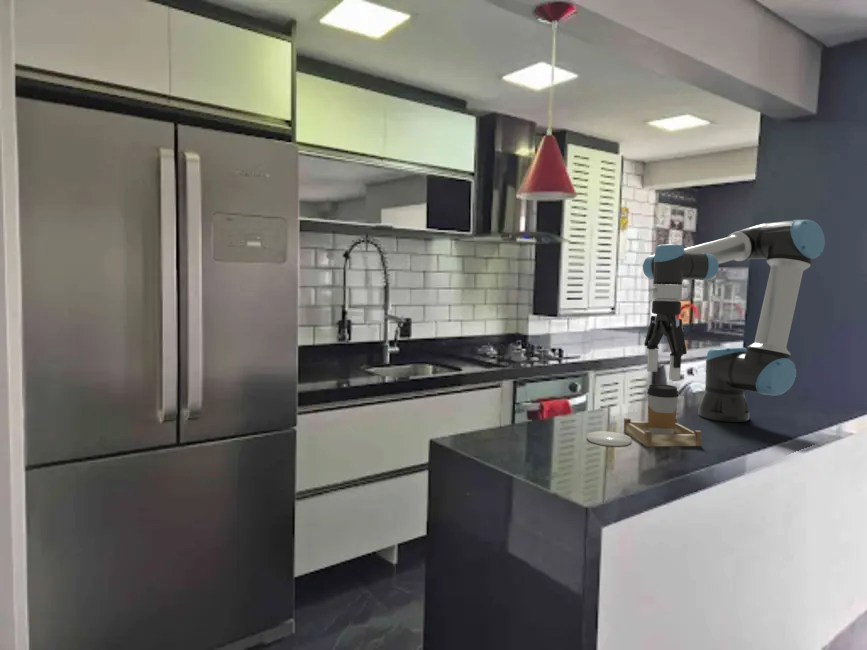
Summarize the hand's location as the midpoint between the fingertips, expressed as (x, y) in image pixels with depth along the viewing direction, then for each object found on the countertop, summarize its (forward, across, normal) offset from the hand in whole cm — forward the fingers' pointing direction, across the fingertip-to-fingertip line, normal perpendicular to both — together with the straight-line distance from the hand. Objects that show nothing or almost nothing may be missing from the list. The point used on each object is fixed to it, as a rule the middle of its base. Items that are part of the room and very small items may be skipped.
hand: (662, 375), depth 161 cm
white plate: (+18, +1, -15) cm, 24 cm away
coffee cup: (+18, 0, 0) cm, 18 cm away
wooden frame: (+18, 0, 0) cm, 18 cm away
